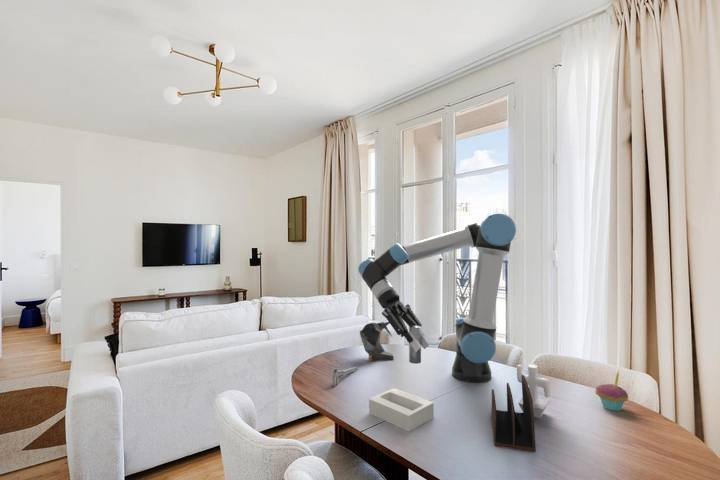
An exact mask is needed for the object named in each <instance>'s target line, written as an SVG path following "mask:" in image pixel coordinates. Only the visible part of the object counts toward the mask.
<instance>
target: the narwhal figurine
mask: <svg viewBox="0 0 720 480" xmlns="http://www.w3.org/2000/svg"><path fill="white" fill-rule="evenodd" d="M389 324H390V323H389V321H387V322H384V321H380V322H370V323H367V324H365V325H364V326H363V327H362V329H361V330H360V331H359V336H360V339H361V342H362V345H363V348H364V351H365V352H366V353H367V354H368V361H369V362H373V361H377V360H389V361H391V360H394V355H393V354H392V353H391V352H387V351H386V350H385V349H384V347H383V346H382V344H381V343H380V342H381V341H380V339H381V334H382V333H381V332H382V331H383V330H385V331H386V332H387V333H388V334H389V336H390V337H392V339H393V336H392V334H391V332H390V331H389V329H388V327H387V326H389Z"/></svg>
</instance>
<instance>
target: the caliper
mask: <svg viewBox="0 0 720 480" xmlns="http://www.w3.org/2000/svg"><path fill="white" fill-rule="evenodd" d="M357 370H358V368H357V367H355V366H354V367H350V368H347V369H343V370H342V369H340V370H339V368H334V370H333V373H332V377H331V378H332V379H331V380H332V386H333V387H336V386H338V385H339V381H340V379H342V378H344V376H345V375H348V374H351V373H352V374H353V373H354V372H356V371H357Z"/></svg>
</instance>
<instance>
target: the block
mask: <svg viewBox="0 0 720 480" xmlns="http://www.w3.org/2000/svg"><path fill="white" fill-rule="evenodd" d="M434 405H435V404H434V402H433V401H430V400H428V399H425V398H423V397H420V396H416V395H414V394H411V393H408V392H406V391H404V390H403V391H402V390H400V389H398V388H394V387H393V388H391V389H389V390H386V391H384V392H382V393H379V394H377V395H375V396H372V397H370V398H368V414H370V415H372V416H374V417H377V418H379V419H381V420H383V421H385V422H387V423H389V424H392V425H393V426H396V427H398V428H400V429H402V430H405V431H406V432H411V431H413V430H415V429H417V428H418V427H419V426H421V425H423V424H425V423H426V422H428V421H430V420H432V419H433V418H435V417H434V415H435V414H434V413H435V412H434V411H435V409H434V407H435V406H434Z"/></svg>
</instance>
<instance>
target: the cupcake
mask: <svg viewBox="0 0 720 480" xmlns="http://www.w3.org/2000/svg"><path fill="white" fill-rule="evenodd" d="M619 377H620V372H619V370H618V371H617V372H616V373H615V382H614V384H613V383H608V384H607V383H606V384H600V385H598V386H597V387H595V392H594V393H595V394H596V395H597V397H599V398H600V399H599V400H600V401H601V403H602V406H603V408H605V409H607V410H610V411H614V412H615V411H617V412H619V411H621V410H622V408H623V405H624V403H625V402H627V401H628V400H629V395H628V393H627V391H626V390H625V389H623V388H622V387H620V386H618V384H619Z"/></svg>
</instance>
